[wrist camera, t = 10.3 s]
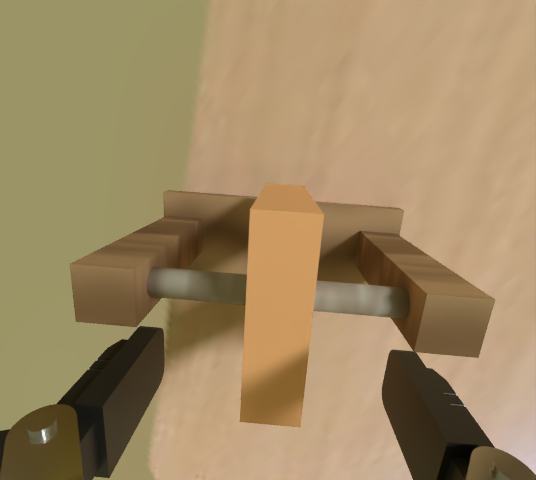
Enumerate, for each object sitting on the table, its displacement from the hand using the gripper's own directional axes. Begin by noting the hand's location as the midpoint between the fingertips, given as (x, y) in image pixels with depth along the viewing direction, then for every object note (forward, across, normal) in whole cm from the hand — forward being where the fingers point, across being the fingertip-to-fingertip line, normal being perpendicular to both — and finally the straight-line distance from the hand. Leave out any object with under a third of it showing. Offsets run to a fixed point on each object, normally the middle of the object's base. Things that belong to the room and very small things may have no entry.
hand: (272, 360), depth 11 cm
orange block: (+14, 0, 0) cm, 14 cm away
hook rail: (+17, 0, 0) cm, 17 cm away
